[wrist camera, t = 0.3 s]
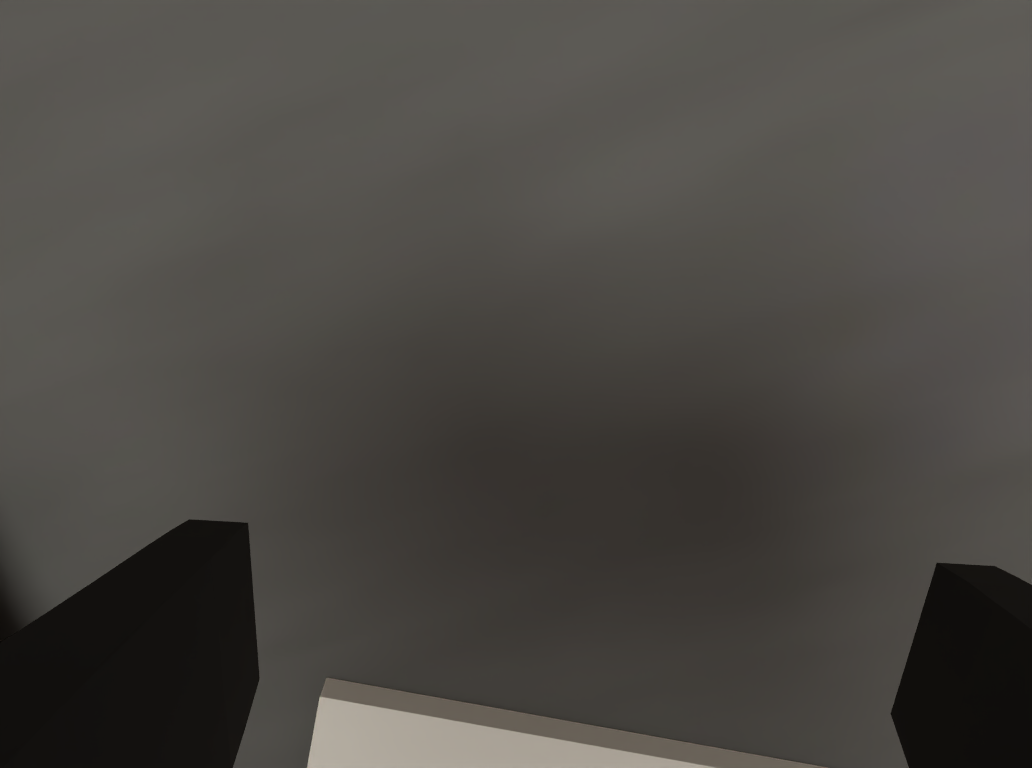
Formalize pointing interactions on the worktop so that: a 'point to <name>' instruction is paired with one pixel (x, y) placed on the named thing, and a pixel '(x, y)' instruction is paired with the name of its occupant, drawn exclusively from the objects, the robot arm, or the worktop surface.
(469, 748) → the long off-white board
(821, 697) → the worktop surface
